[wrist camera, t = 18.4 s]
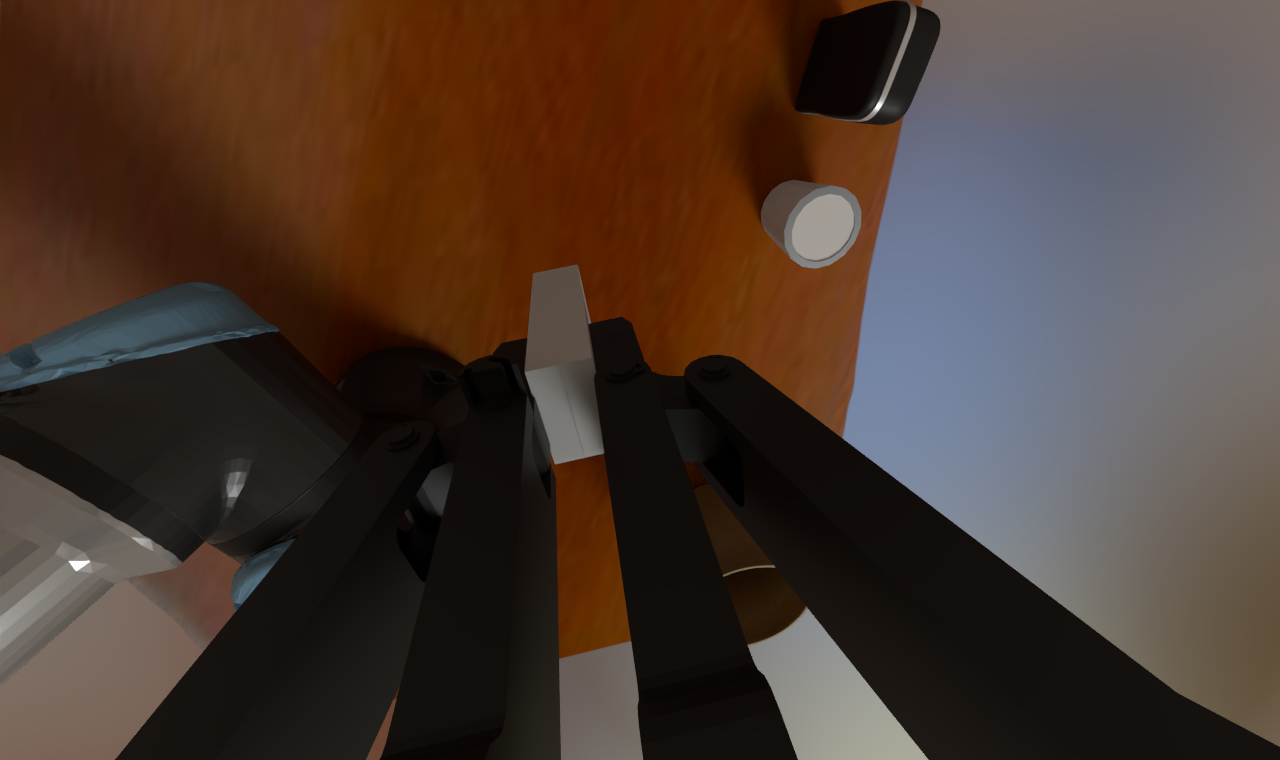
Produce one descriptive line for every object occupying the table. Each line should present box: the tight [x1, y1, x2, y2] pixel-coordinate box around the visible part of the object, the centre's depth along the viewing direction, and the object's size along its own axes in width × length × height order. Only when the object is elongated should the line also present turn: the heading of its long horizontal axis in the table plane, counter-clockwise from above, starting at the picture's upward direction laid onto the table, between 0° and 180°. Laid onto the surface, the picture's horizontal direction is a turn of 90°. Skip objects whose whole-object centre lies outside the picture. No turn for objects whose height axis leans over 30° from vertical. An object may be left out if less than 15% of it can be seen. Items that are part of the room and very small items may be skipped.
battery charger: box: [795, 0, 940, 125], centre depth 36 cm, size 7×4×11 cm, turn 168°
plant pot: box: [693, 484, 808, 646], centre depth 59 cm, size 15×15×16 cm
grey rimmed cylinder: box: [761, 180, 861, 268], centre depth 43 cm, size 7×7×7 cm
